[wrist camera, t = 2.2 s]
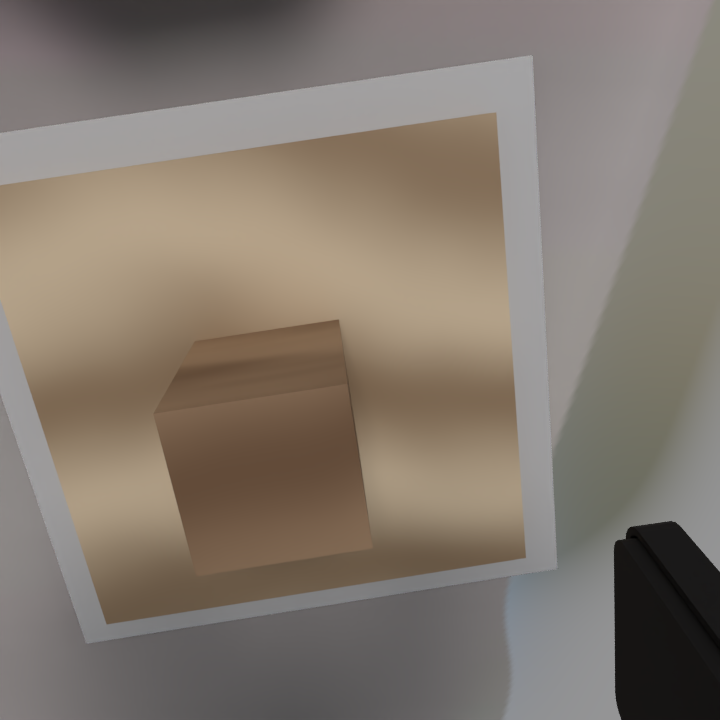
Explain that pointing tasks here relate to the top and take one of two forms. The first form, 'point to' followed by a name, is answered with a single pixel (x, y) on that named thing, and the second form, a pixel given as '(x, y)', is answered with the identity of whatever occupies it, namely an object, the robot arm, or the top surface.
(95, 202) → the lid
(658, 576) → the robot arm
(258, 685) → the top surface
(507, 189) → the mat
